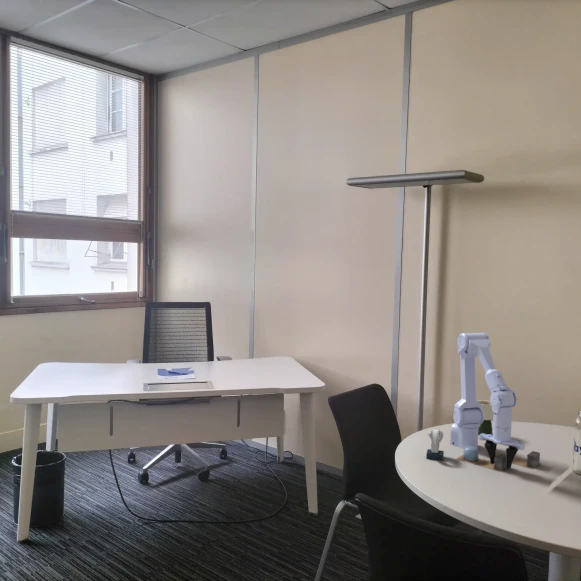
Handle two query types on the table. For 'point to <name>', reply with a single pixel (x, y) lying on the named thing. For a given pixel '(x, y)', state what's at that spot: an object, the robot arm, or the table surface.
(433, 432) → the white figurine on base
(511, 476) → the table surface
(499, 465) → the strip
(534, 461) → the strip empty
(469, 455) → the blue-grey rounded block
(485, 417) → the character mug
